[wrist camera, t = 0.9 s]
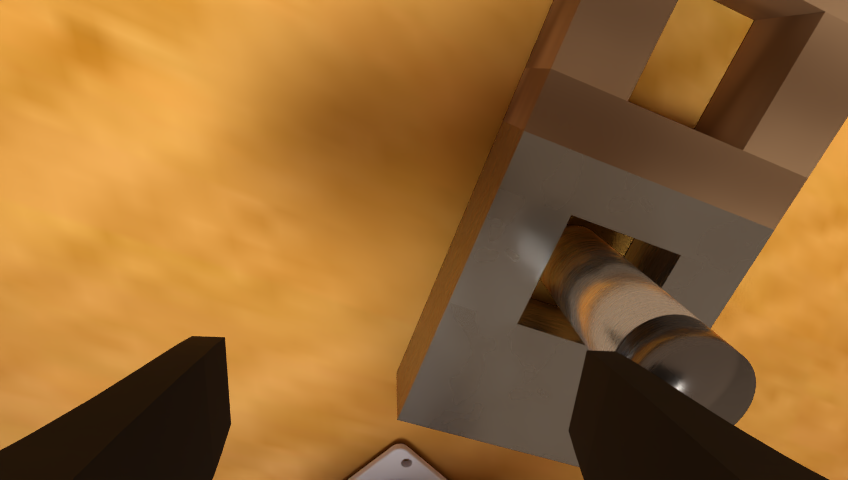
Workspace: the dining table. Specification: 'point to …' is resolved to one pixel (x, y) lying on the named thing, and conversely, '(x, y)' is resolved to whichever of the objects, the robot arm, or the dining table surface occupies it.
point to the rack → (725, 114)
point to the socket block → (539, 322)
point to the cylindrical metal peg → (644, 324)
